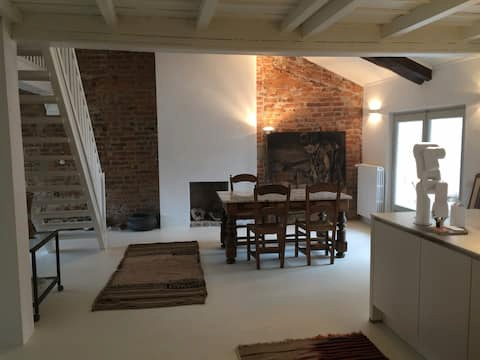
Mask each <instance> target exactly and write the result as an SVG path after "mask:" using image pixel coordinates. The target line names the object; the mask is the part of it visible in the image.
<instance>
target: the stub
mask: <svg viewBox="0 0 480 360" xmlns="http://www.w3.org/2000/svg"><path fill="white" fill-rule="evenodd" d="M439 222H440V228H437V227H436V225H435V226H429V228H431V229H433V230H436V231H439V232H449V230H447V229H444V228H443V224H444V223H445V221H444V220H441V218H439ZM444 225H445V224H444Z"/></svg>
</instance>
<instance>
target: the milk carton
mask: <svg viewBox="0 0 480 360" xmlns="http://www.w3.org/2000/svg"><path fill="white" fill-rule="evenodd" d="M466 211H467V207H466V206H465V204H463V203H462V200H458V199H455V201H454V202H453V203H451V204H450V215H449V226H455V227H458V228H466Z"/></svg>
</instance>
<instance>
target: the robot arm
mask: <svg viewBox="0 0 480 360" xmlns="http://www.w3.org/2000/svg"><path fill="white" fill-rule="evenodd" d="M412 154H413V155H412V156H413V158H414V159H415V166H416V167H415V168H416V176H417V178H418V179H419V180H421V181H418V182H416V184H415V192H416V202H415V203H416V206H415V216H414V217H413V219H414V220H413V222H412V223H413V224H415V225H420V226H431V225H432V221H430V220H434V221H435V226H436V227H437V228H440V222H439V219H441V220H444V222H445V221H446V220H447V219H450V215H449V202H448V201H449V198H448V191H449V184H448V182H445V181H444V180H442V178H441V177H442V175H441V171H440V162H439V160H443V159H445V158H446V149H445V148H444V146H442V145H441V144H440V143H437V142H418V143H415V144H414V145H413V147H412ZM428 195H434V201H433V202H431V198H430V197H429V196H428ZM431 203H432V205H431ZM431 206H432V207H431ZM444 225H445V224H443V226H444Z"/></svg>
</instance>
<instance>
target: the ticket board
mask: <svg viewBox="0 0 480 360" xmlns="http://www.w3.org/2000/svg"><path fill="white" fill-rule="evenodd" d="M443 228H444V229H447V230H449V232H439V231H436V230H433V229H431V228H430V227H425V231H426V232H427V231H428V232H429V233H433V234H435V235H438V236H459V235H460V234H461V235H462V234H463V235H469V232H468V231H466V230H465V229H464V228H462V227H455V226H450V225H445V226H443ZM463 235H462V236H463Z"/></svg>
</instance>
